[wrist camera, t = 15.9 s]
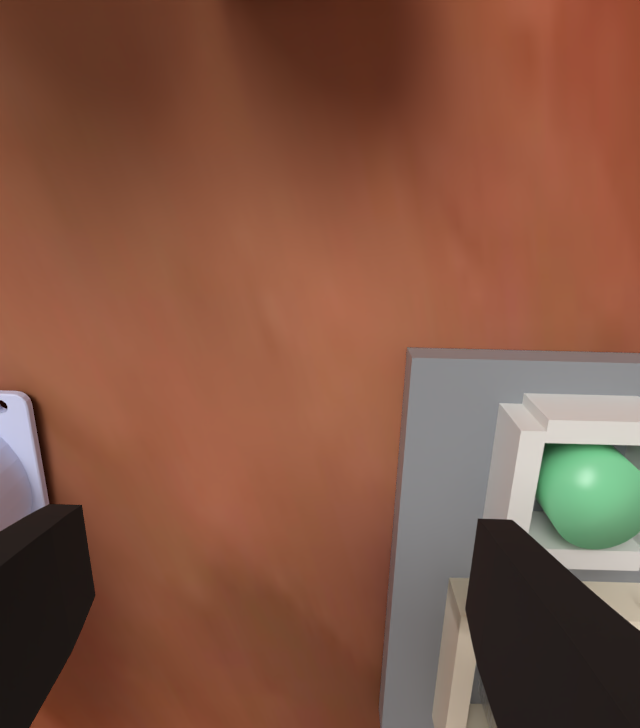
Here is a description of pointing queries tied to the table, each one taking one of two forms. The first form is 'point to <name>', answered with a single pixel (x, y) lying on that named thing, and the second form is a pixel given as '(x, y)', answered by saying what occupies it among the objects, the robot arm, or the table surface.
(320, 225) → the table surface
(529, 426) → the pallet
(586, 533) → the button
